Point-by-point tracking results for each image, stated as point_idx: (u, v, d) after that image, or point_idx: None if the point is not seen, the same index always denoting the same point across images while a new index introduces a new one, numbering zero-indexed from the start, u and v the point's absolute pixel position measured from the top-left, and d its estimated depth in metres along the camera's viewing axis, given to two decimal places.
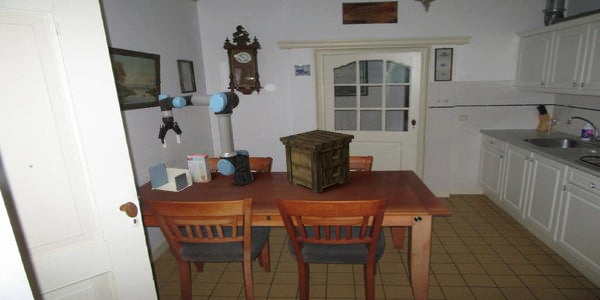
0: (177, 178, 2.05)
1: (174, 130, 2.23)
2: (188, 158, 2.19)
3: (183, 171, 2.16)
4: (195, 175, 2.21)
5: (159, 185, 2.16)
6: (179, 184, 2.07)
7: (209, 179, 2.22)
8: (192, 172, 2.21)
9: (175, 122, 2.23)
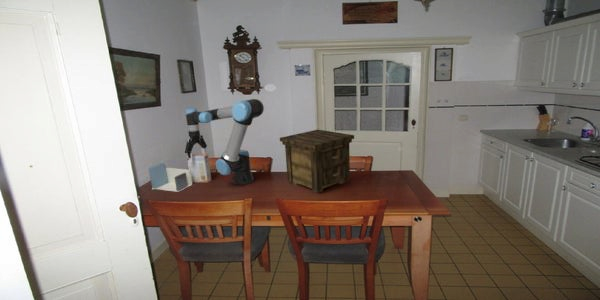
0: (177, 178, 2.05)
1: (199, 144, 2.22)
2: (188, 158, 2.19)
3: (183, 171, 2.16)
4: (195, 175, 2.21)
5: (159, 185, 2.16)
6: (179, 184, 2.07)
7: (209, 179, 2.22)
8: (192, 172, 2.21)
9: (201, 136, 2.21)
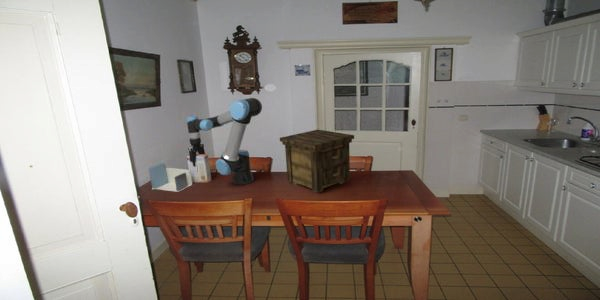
0: (177, 178, 2.05)
1: (199, 153, 2.21)
2: (188, 158, 2.19)
3: (183, 171, 2.16)
4: (195, 175, 2.21)
5: (159, 185, 2.16)
6: (179, 184, 2.07)
7: (209, 179, 2.22)
8: (192, 172, 2.21)
9: (202, 144, 2.22)
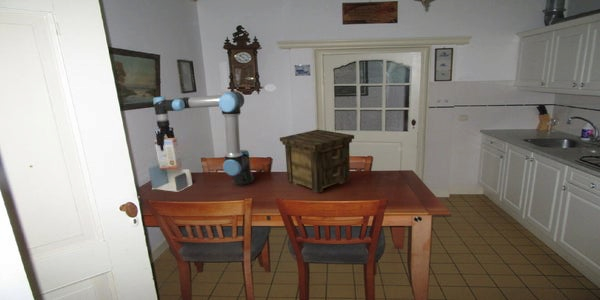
0: (177, 178, 2.05)
1: (168, 136, 2.09)
2: (156, 142, 2.07)
3: (183, 171, 2.16)
4: (163, 160, 2.09)
5: (159, 185, 2.16)
6: (179, 184, 2.07)
7: (178, 164, 2.10)
8: (160, 157, 2.09)
9: (171, 127, 2.11)
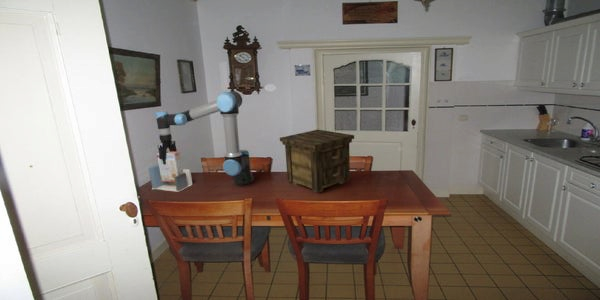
0: (177, 178, 2.05)
1: (170, 150, 2.12)
2: (158, 155, 2.09)
3: (183, 171, 2.16)
4: (165, 173, 2.11)
5: (159, 185, 2.16)
6: (179, 184, 2.07)
7: None
8: (162, 170, 2.11)
9: (173, 141, 2.13)
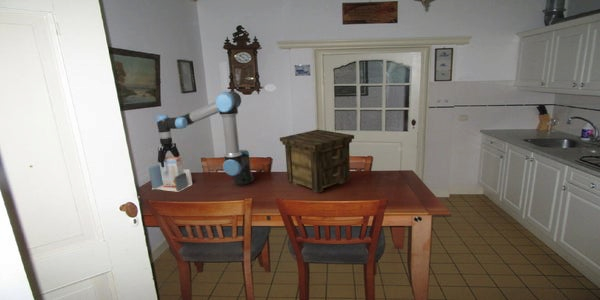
0: (177, 178, 2.05)
1: (172, 152, 2.13)
2: None
3: (183, 171, 2.16)
4: (167, 179, 2.13)
5: (159, 185, 2.16)
6: (179, 184, 2.07)
7: None
8: (164, 175, 2.13)
9: (174, 143, 2.13)
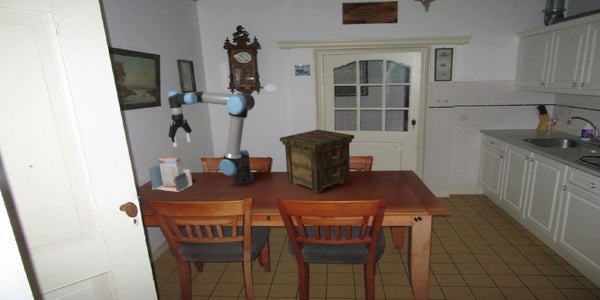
0: (177, 178, 2.05)
1: (184, 128, 2.15)
2: (160, 161, 2.11)
3: (183, 171, 2.16)
4: (167, 179, 2.13)
5: (159, 185, 2.16)
6: (179, 184, 2.07)
7: None
8: (164, 175, 2.13)
9: (185, 120, 2.14)
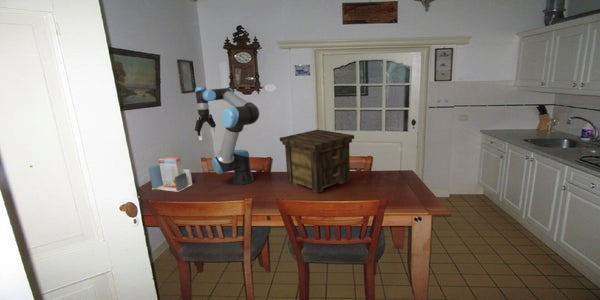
0: (177, 178, 2.05)
1: (209, 123, 2.24)
2: (160, 161, 2.11)
3: (183, 171, 2.16)
4: (167, 179, 2.13)
5: (159, 185, 2.16)
6: (179, 184, 2.07)
7: None
8: (164, 175, 2.13)
9: (210, 115, 2.23)
